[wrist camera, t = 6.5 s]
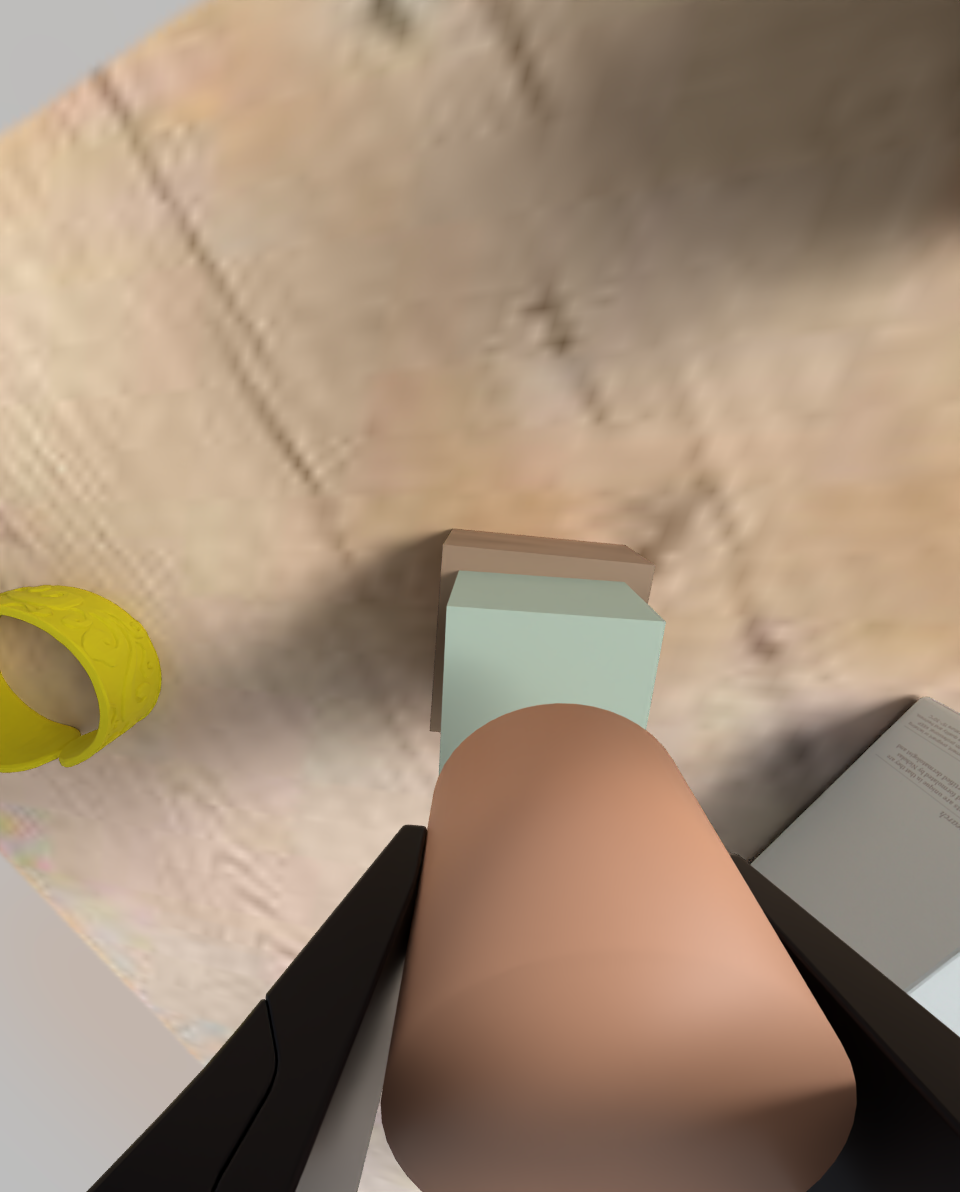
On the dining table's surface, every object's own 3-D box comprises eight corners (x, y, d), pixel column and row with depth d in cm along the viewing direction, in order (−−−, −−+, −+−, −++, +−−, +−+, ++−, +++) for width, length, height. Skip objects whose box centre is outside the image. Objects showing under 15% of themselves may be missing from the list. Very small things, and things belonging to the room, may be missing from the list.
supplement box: (918, 688, 20) (720, 880, 23) (1152, 813, 13) (824, 1065, 16) (1031, 770, 21) (828, 943, 24) (1304, 926, 14) (969, 1142, 17)
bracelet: (-40, 596, 21) (-136, 619, 18) (130, 568, 20) (61, 587, 17) (29, 740, 23) (-47, 786, 20) (185, 719, 22) (133, 762, 19)
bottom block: (596, 697, 21) (618, 749, 17) (441, 681, 21) (429, 731, 17) (623, 544, 19) (655, 565, 15) (453, 527, 19) (442, 544, 15)
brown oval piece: (658, 922, 10) (783, 1270, 6) (425, 901, 10) (376, 1235, 6) (711, 715, 9) (928, 974, 4) (439, 692, 9) (387, 927, 4)
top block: (601, 727, 17) (632, 805, 13) (451, 716, 17) (438, 789, 13) (624, 581, 16) (665, 621, 12) (458, 570, 16) (446, 605, 12)
